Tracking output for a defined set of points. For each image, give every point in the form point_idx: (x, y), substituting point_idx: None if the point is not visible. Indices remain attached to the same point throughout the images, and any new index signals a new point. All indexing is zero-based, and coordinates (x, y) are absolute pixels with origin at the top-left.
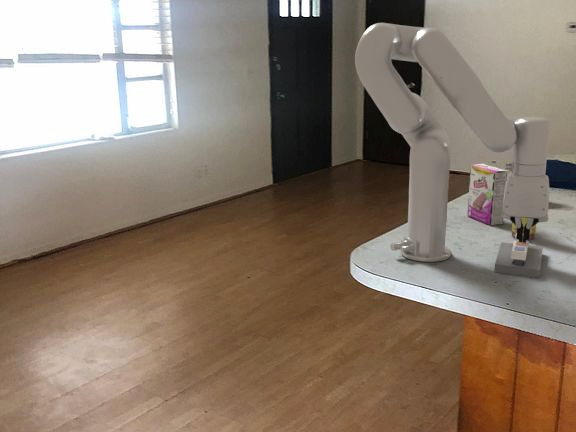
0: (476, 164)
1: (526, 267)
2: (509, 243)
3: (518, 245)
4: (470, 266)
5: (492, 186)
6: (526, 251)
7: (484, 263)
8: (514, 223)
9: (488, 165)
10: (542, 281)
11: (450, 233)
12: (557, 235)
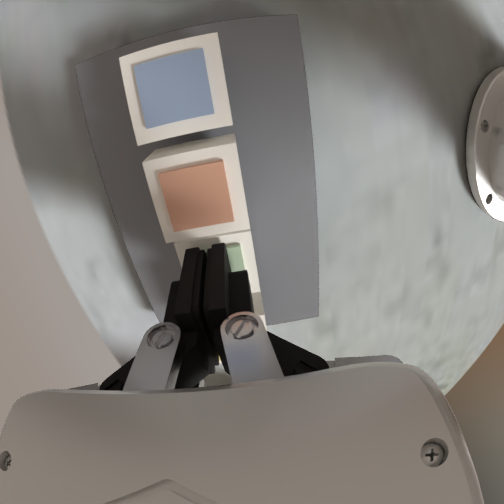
0: None
1: (134, 48)
2: (288, 318)
3: (202, 165)
4: (393, 59)
5: None
6: (122, 77)
7: (351, 114)
8: (279, 343)
9: None
10: (77, 40)
11: (441, 332)
12: None
